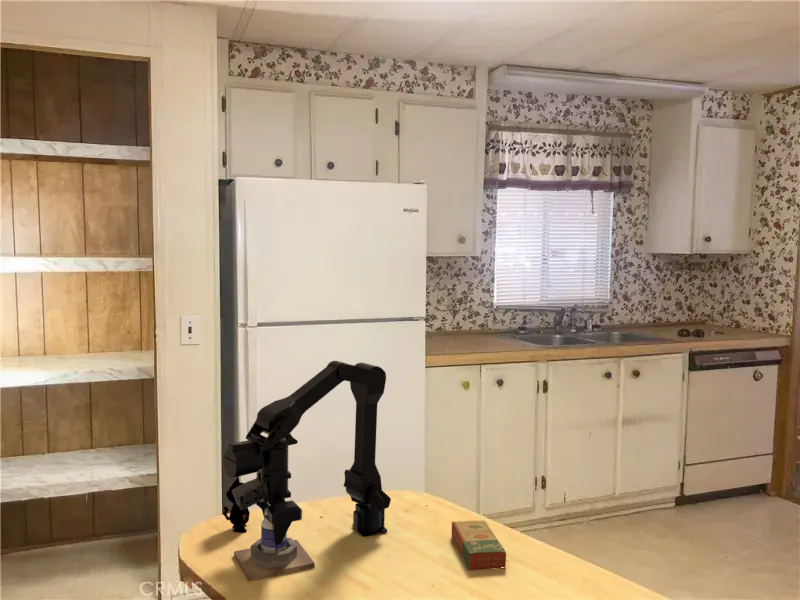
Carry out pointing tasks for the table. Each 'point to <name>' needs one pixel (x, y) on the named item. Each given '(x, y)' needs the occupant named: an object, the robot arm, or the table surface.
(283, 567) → the collar board
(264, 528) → the pill bottle
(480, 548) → the carton
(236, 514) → the cat figurine
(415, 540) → the table surface
